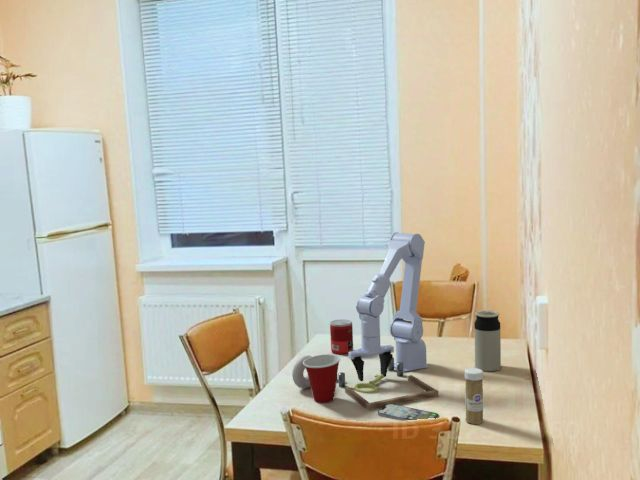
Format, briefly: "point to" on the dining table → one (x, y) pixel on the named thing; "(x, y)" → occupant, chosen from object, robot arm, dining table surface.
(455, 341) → the dining table surface
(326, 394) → the plastic cup
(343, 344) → the canned food
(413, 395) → the bay
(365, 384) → the key
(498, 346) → the travel mug
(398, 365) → the spacers
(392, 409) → the smartphone
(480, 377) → the sprinkles bottle
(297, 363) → the donut
